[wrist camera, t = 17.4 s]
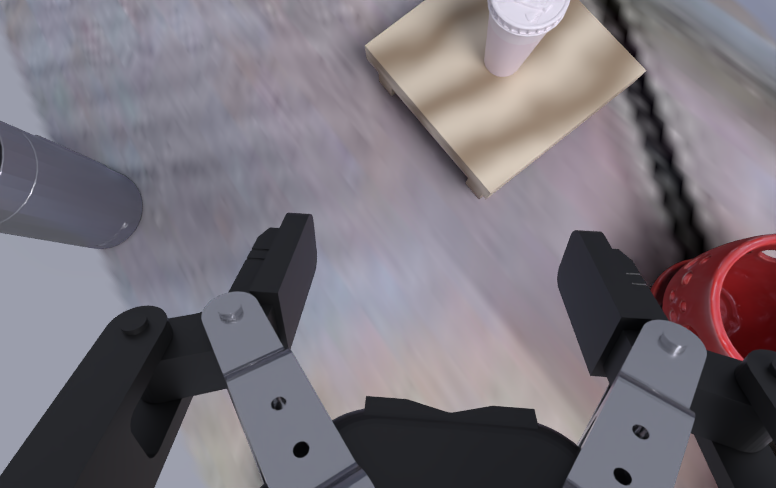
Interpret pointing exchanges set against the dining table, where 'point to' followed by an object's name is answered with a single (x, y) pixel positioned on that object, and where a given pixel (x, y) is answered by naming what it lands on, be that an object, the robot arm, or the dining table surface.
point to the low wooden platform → (498, 85)
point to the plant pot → (725, 296)
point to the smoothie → (518, 31)
